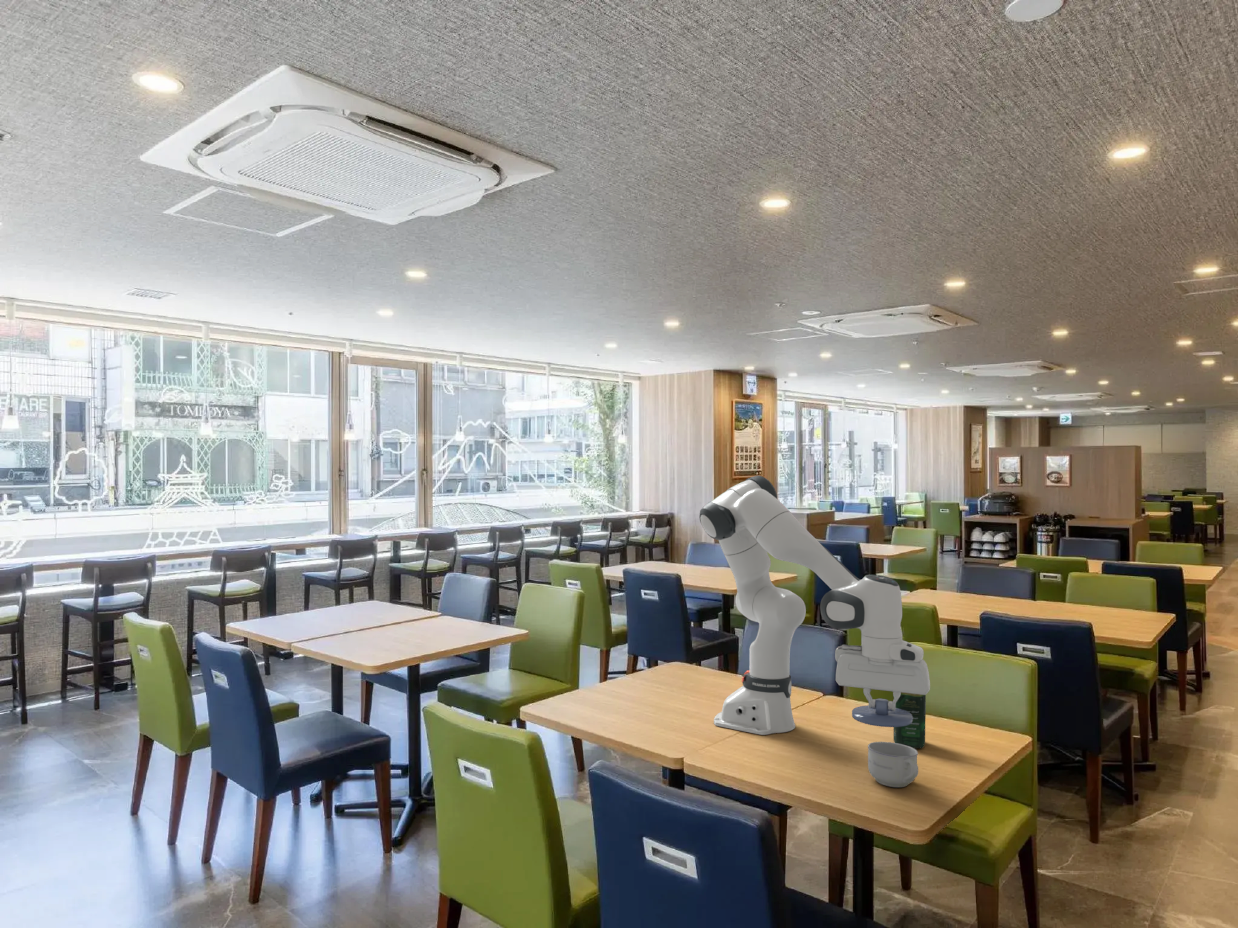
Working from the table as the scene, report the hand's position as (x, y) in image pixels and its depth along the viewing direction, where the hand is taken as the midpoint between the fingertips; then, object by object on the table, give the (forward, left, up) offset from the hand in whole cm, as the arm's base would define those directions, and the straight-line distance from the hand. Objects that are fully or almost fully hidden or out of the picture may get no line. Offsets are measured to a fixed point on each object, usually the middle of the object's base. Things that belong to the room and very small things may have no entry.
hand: (882, 709), depth 180 cm
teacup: (+3, +2, -17) cm, 18 cm away
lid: (0, 0, -2) cm, 2 cm away
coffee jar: (+4, +33, -17) cm, 37 cm away
